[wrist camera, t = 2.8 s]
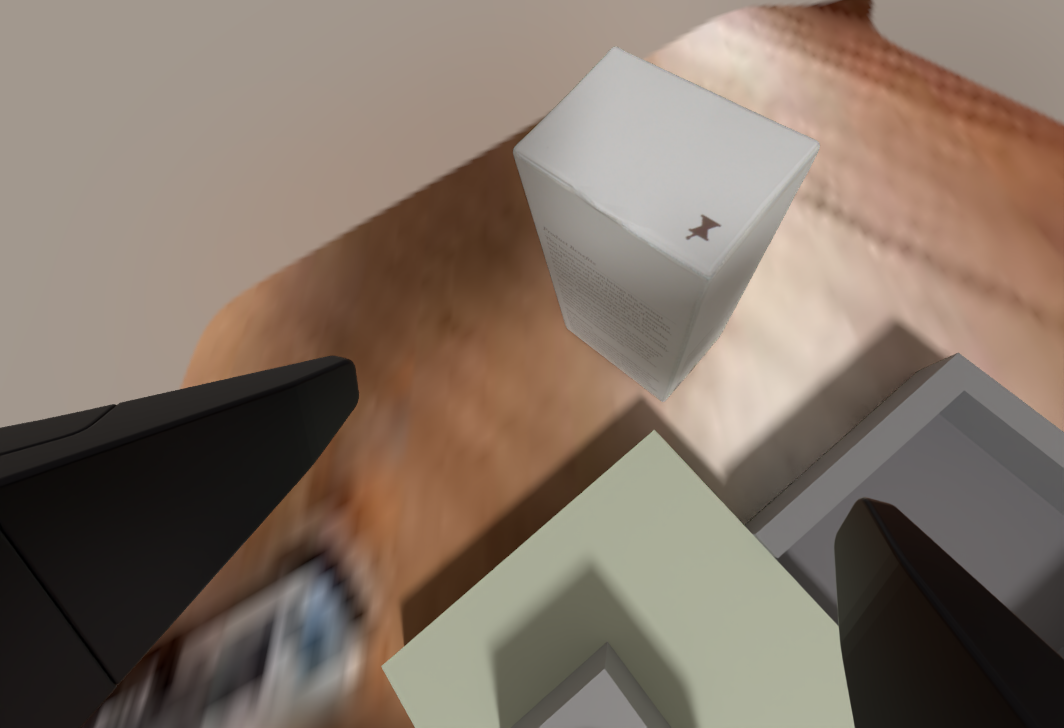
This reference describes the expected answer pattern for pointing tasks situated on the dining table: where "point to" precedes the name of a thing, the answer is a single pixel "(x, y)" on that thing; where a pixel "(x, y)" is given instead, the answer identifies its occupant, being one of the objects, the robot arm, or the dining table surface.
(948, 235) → the dining table surface
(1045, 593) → the fixture base
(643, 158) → the skincare box
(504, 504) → the dining table surface
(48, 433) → the robot arm
